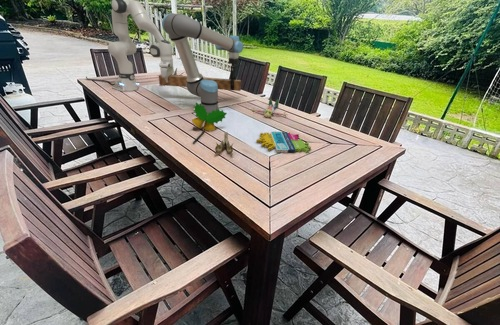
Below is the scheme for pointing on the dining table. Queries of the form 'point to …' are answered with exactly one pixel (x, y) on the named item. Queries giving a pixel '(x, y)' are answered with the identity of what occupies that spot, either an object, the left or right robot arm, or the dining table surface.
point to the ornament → (207, 117)
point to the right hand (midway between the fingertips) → (232, 88)
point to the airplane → (173, 74)
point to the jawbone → (224, 145)
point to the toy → (270, 109)
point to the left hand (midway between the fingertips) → (168, 81)
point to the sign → (283, 142)
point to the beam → (222, 83)
